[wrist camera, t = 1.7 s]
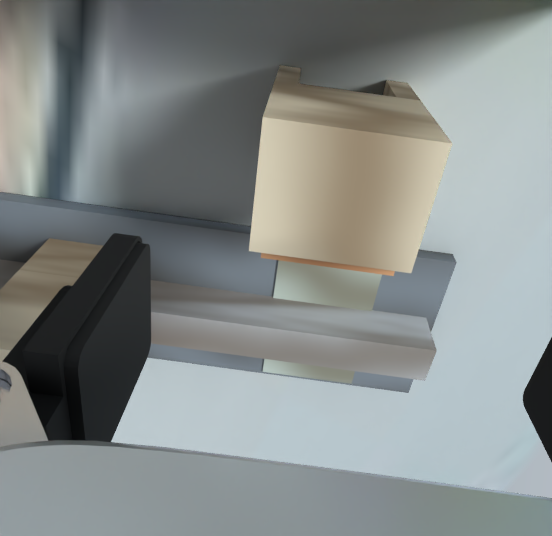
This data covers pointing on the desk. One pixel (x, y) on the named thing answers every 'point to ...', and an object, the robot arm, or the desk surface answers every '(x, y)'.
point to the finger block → (345, 176)
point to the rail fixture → (229, 295)
